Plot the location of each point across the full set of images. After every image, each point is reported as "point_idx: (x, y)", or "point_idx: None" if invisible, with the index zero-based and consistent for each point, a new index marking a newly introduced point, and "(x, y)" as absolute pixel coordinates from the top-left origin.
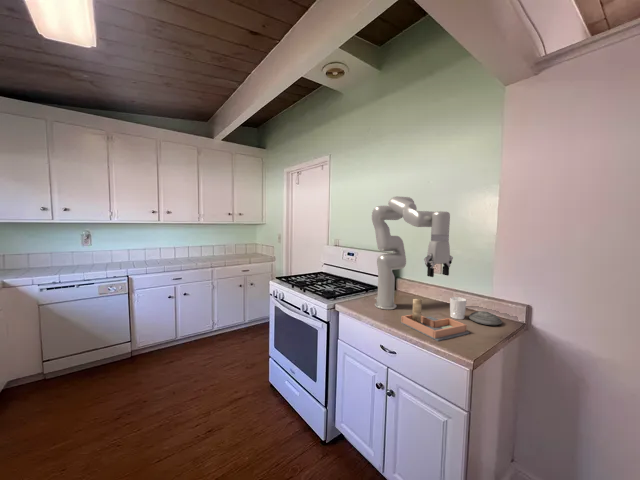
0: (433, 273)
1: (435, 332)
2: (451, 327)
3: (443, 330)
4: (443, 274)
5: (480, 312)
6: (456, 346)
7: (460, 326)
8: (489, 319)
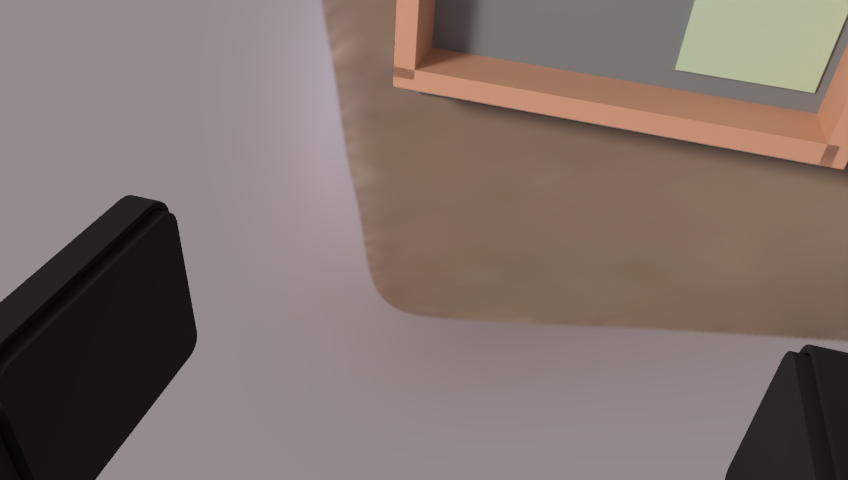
0: (130, 410)
1: (399, 83)
2: (622, 117)
3: (496, 103)
4: (775, 378)
5: None
6: (459, 204)
7: (739, 149)
8: None
